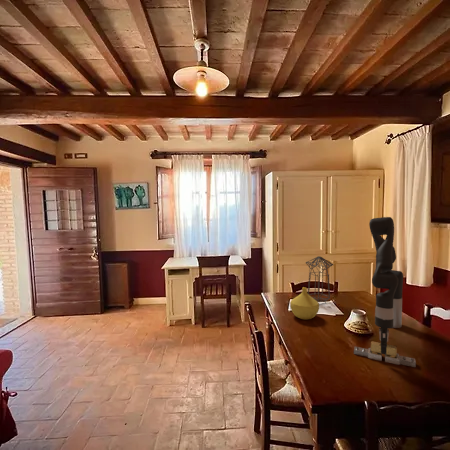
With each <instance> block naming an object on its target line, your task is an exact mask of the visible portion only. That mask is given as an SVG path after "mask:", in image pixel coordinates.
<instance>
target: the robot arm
mask: <svg viewBox="0 0 450 450" xmlns="http://www.w3.org/2000/svg"><path fill="white" fill-rule="evenodd" d="M368 226H369V229H370V233H371V237H372V239H373V243H374V246H375V270H374V273H373V276H372V278H371V283H372V286H373V287H375V288H377V289H384V290H385V291H384V292H383V291H382V292H378V293H377V294H376V295H375V309H374V324H375V326H377V327H378V334H379V341H380V343H381V344H380V345H381V354H382V355H385V354H386V348H387V344H388V342H389V336H390V331H389V330H390V329H394V328H395V329H398V328H399V329H400V328H402V322H403V321H402V320H403V317H402V315H403V289H404V288H403V287H404V286H403V285H404V273H403V271H401V270H395V269H394V268H393V267H394V263H395V262H396V260H397V254H396V249H395V247H394V241H395V239H394V238H395V223H394V219H393V217H391V216H382V217H375V218H371V219H369V224H368ZM382 236H385V238H384V237H382Z"/></svg>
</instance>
